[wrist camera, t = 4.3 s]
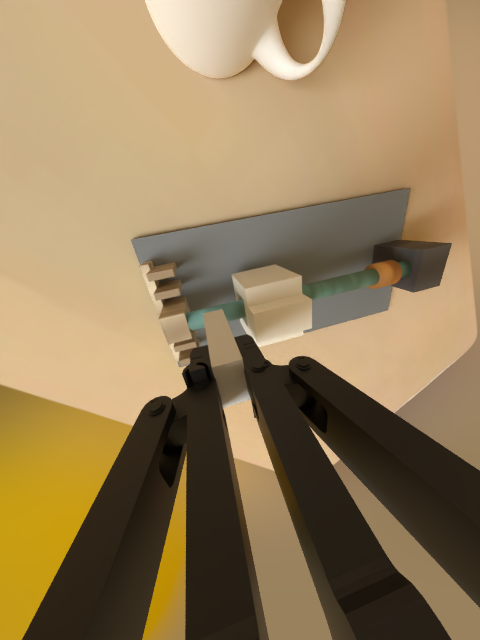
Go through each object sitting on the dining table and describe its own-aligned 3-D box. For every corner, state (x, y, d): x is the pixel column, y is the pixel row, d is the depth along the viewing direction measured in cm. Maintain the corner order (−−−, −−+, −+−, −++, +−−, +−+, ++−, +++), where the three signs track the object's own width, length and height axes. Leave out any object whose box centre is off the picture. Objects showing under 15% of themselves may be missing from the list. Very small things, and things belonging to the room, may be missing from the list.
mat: (132, 239, 18) (130, 239, 17) (404, 188, 21) (410, 187, 21) (179, 364, 24) (179, 367, 23) (384, 308, 28) (388, 310, 27)
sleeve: (231, 274, 19) (250, 294, 13) (275, 264, 20) (311, 280, 14) (240, 322, 21) (259, 358, 16) (279, 312, 22) (312, 343, 16)
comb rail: (145, 261, 19) (127, 275, 13) (397, 210, 22) (462, 205, 17) (177, 349, 23) (174, 386, 18) (383, 295, 27) (431, 312, 21)
